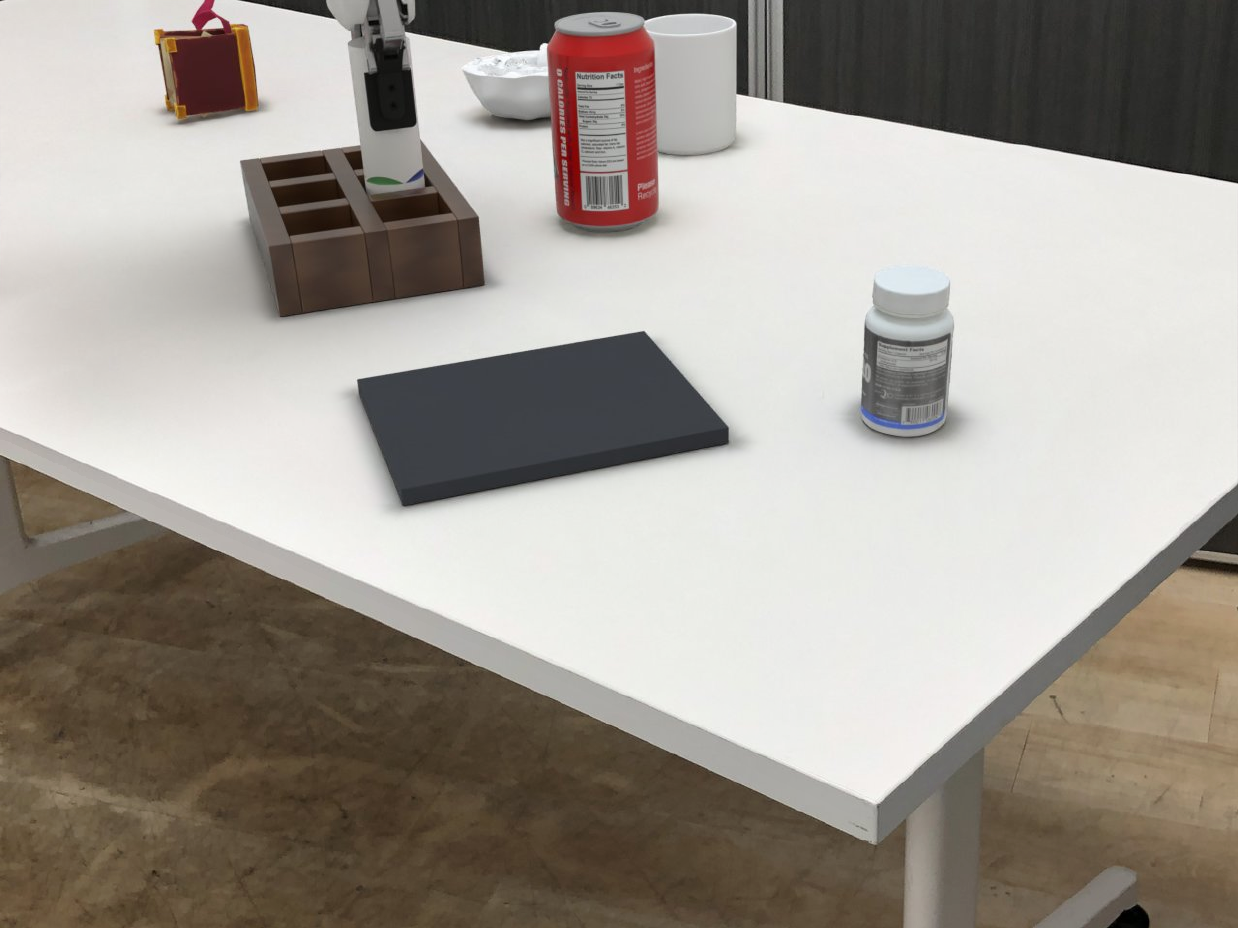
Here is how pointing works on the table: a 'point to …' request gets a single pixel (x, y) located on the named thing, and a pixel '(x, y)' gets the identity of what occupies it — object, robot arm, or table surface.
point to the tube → (384, 137)
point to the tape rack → (357, 232)
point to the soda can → (603, 121)
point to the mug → (694, 82)
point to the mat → (534, 416)
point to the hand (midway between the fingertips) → (387, 116)
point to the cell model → (512, 83)
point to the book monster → (207, 67)
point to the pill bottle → (907, 351)
